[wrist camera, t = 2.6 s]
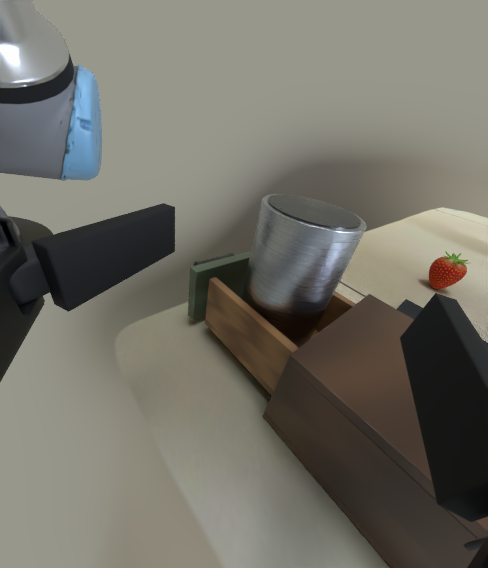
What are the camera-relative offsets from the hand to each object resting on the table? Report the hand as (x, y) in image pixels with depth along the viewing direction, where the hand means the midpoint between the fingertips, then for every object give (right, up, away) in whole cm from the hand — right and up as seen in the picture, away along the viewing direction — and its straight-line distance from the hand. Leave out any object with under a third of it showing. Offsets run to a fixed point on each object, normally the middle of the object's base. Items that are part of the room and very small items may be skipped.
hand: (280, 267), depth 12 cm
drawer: (0, -6, +17) cm, 18 cm away
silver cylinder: (+1, -6, +15) cm, 16 cm away
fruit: (+38, -2, +36) cm, 52 cm away
